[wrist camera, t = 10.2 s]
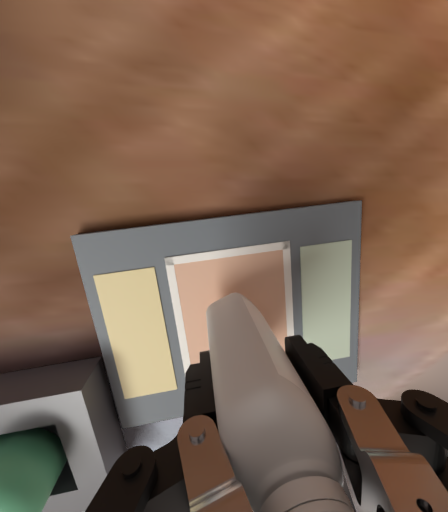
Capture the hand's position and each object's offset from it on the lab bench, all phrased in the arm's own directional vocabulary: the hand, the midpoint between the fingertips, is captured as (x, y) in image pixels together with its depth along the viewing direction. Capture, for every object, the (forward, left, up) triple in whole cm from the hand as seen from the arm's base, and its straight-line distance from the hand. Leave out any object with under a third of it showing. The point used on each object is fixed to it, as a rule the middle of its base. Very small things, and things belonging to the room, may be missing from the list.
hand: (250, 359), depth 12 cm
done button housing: (+6, -14, -5) cm, 16 cm away
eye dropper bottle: (0, 0, -3) cm, 3 cm away
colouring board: (0, 0, -5) cm, 5 cm away
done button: (+6, -14, -3) cm, 16 cm away
